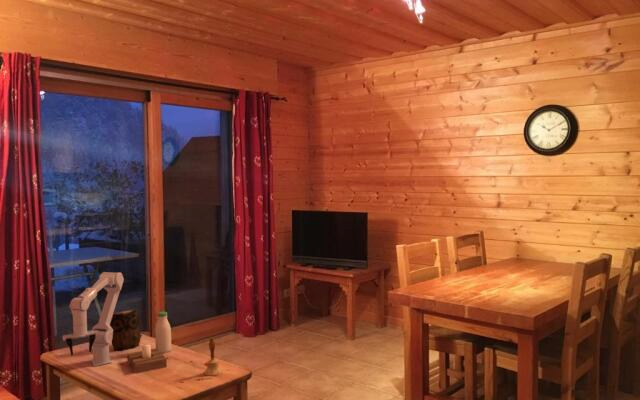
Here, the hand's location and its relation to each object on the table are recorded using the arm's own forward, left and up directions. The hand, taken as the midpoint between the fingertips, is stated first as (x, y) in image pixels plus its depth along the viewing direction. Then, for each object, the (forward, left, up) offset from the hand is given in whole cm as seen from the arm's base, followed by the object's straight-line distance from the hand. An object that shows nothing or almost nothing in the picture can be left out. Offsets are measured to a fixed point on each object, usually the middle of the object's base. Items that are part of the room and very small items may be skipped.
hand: (81, 353), depth 240 cm
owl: (-28, +25, -10) cm, 39 cm away
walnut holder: (+5, +28, -9) cm, 30 cm away
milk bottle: (-10, +40, -10) cm, 42 cm away
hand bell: (+33, +51, -10) cm, 61 cm away
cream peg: (+5, +28, -9) cm, 30 cm away
